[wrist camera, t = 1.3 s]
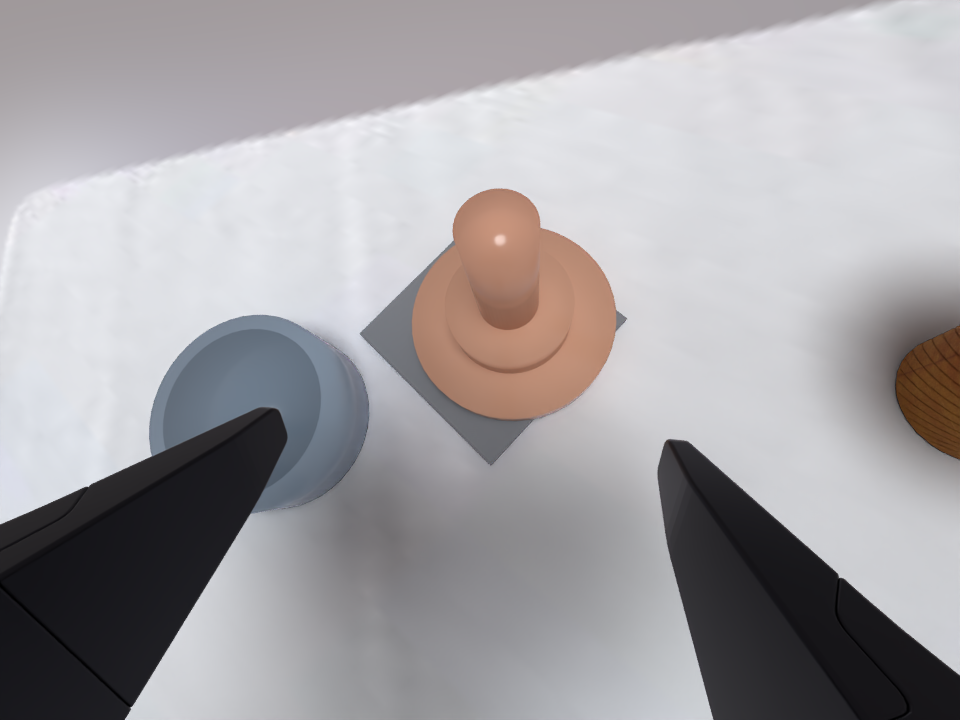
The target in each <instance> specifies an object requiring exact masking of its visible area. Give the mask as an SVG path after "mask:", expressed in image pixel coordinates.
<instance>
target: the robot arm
mask: <svg viewBox="0 0 960 720" xmlns="http://www.w3.org/2000/svg"><path fill="white" fill-rule="evenodd" d="M287 439H288V434H287V430H286V427H285V425H284V422H283V419H282V416H281V413H280V411H279V410H278V409H277V408H273V407H258V408H256V409H254V410H252V411H250V412H247V413H245V414H243V415H241V416H239V417H236V418H234V419H232V420H230V421H228V422H226V423H223V424H221V425H219V426H217V427H215V428H213V429H210V430H208V431H206V432H204V433H202V434H200V435H197V436H195V437H193V438H191V439H189V440H186V441H184V442H182V443H180V444H178V445H176V446H173V447H171V448H169V449H167V450H165V451H163V452H160V453H158V454H156V455H154V456H152V457H150V458H147V459H145V460H143V461H141V462H139V463H136V464H134V465H132V466H130V467H128V468H126V469H123V470H121V471H119V472H117V473H115V474H113V475H110V476H108V477H106V478H104V479H102V480H100V481H97V482H95V483H93V484H91V485H90V486H89V487H84V488H82V489H80V490H78V491H75V492H73V493H71V494H69V495H67V496H65V497H62V498H60V499H58V500H56V501H53V502H51V503H49V504H47V505H44V506H42V507H40V508H38V509H35V510H33V511H31V512H29V513H26V514H24V515H22V516H19V517H17V518H14V519H12V520H10V521H7V522H5V523H3V524H0V720H125V718H126V717H127V715H128V714H129V712H130V710H131V708H130V707H132V706H133V705H134V703H135V702H136V700H137V698H138V697H139V695H140V693H141V692H142V690H143V688H144V687H145V685H146V684H147V682H148V680H149V679H150V677H151V675H152V674H153V672H154V671H155V669H156V667H157V666H158V664H159V662H160V661H161V659H162V657H163V656H164V654H165V653H166V651H167V649H168V648H169V646H170V644H171V643H172V641H173V639H174V638H175V636H176V635H177V633H178V631H179V630H180V628H181V626H182V625H183V623H184V621H185V620H186V618H187V617H188V615H189V613H190V612H191V610H192V608H193V607H194V605H195V603H196V602H197V600H198V599H199V597H200V595H201V594H202V592H203V590H204V589H205V587H206V585H207V584H208V582H209V581H210V579H211V577H212V576H213V574H214V572H215V571H216V569H217V567H218V566H219V564H220V563H221V561H222V559H223V558H224V556H225V554H226V553H227V551H228V549H229V548H230V546H231V545H232V543H233V541H234V540H235V538H236V536H237V535H238V533H239V532H240V530H241V528H242V527H243V525H244V523H245V522H246V520H247V518H248V517H249V515H250V514H251V512H252V510H253V509H254V507H255V505H256V504H257V502H258V500H259V498H260V496H261V495H262V493H263V491H264V489H265V487H266V485H267V483H268V481H269V478H270V476H271V474H272V472H273V470H274V468H275V466H276V464H277V462H278V460H279V458H280V456H281V454H282V452H283V449H284V447H285V445H286V443H287ZM658 484H659V491H660V498H661V505H662V512H663V519H664V526H665V533H666V539H667V545H668V550H669V554H670V558H671V562H672V566H673V569H674V573H675V577H676V581H677V584H678V588H679V592H680V596H681V599H682V603H683V607H684V611H685V614H686V618H687V622H688V626H689V630H690V633H691V637H692V641H693V645H694V648H695V652H696V656H697V660H698V663H699V667H700V671H701V675H702V678H703V682H704V686H705V690H706V694H707V697H708V701H709V705H710V709H711V712H712V716H713V720H960V675H959V674H957V673H956V672H955V671H953V670H952V669H951V668H950V667H948V666H947V665H946V664H945V663H943V662H942V661H941V660H940V659H938V658H937V657H936V656H935V655H933V654H932V653H931V652H930V651H929V650H927V649H926V648H925V647H924V646H922V645H921V644H920V643H919V642H917V641H916V640H915V639H914V638H912V637H911V636H910V635H909V634H907V633H906V632H905V631H904V630H902V629H901V628H900V627H899V626H898V625H897V624H895V623H894V622H893V621H892V620H891V619H890V618H888V617H887V616H886V615H885V614H884V613H883V612H881V611H880V610H879V609H878V608H877V607H876V606H874V605H873V604H872V603H871V602H870V601H869V600H867V599H866V598H865V597H864V596H863V595H862V594H860V593H859V592H858V591H857V590H856V589H855V588H854V587H853V586H851V585H850V584H849V583H848V582H847V581H846V580H845V579H843V578H839V575H838V573H836V572H835V571H834V570H833V569H832V568H831V567H830V566H829V565H827V564H826V563H825V562H824V561H823V560H822V559H821V558H820V557H818V556H817V555H816V554H815V553H814V552H813V551H812V550H810V549H809V548H808V547H807V546H806V545H805V544H804V543H803V542H801V541H800V540H799V539H798V538H797V537H796V536H795V535H793V534H792V533H791V532H790V531H789V530H788V529H787V528H786V527H784V526H783V525H782V524H781V523H780V522H779V521H778V520H777V519H775V518H774V517H773V516H772V515H771V514H770V513H769V512H767V511H766V510H765V509H764V508H763V507H762V506H761V505H760V504H758V503H757V502H756V501H755V500H754V499H753V498H752V497H750V496H749V495H748V494H747V493H746V492H745V491H744V490H743V489H741V488H740V487H739V486H738V485H737V484H736V483H735V482H733V481H732V480H731V479H730V478H729V477H728V476H727V475H726V474H724V473H723V472H722V471H721V470H720V469H719V468H718V467H717V466H715V465H714V464H713V463H712V462H711V461H710V460H709V459H707V458H706V457H705V456H704V455H703V454H702V453H701V452H700V451H698V450H697V449H696V448H695V447H694V446H693V445H692V444H690V443H689V442H688V441H684V440H673V439H669V440H667V441H666V442H665V443H664V446H663V450H662V454H661V458H660V462H659V465H658Z"/></svg>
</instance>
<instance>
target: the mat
mask: <svg viewBox="0 0 960 720" xmlns="http://www.w3.org/2000/svg"><path fill="white" fill-rule="evenodd" d="M454 245H456V244H455V241H453V242H452V243H451V244H450V245H449V246H448V247H447V248H446V249H445V250H444V251H443V252H442V253H441V254H440V255H439V256H438V257H437V258H436V259H435V260H434V261H433V262H432V263H431V264H430V265H429V266H428V267H427V268H426V269H425V270H424V271H423V272H422V273H421V274H420V275H418V276H417V277H416V278H415V279H414V280H413V281H412V282H411V283H410V284H409V285H408V286H407V287H406V288H405V289H404V290H403V291H402V292H401V293H400V294H399V295H398V296H397V297H396V298H395V299H394V300H393V301H392V302H391V303H390V304H389V305H388V306H387V307H386V308H385V309H384V310H383V311H382V312H381V313H380V314H379V315H378V316H377V317H376V318H375V319H374V320H373V321H372V322H371V323H370V324H369V325H368V326H367V327H366V328H365V329H364V330H363V331H362V332H361V333H360V335H361V336H362V337H363V338H364V339H365V340H366V341H367V342H368V343H369V344H370V345H371V346H372V347H373V348H374V349H375V350H376V351H377V352H378V353H379V354H380V355H381V356H382V357H383V358H384V359H385V360H386V361H387V362H388V363H389V364H390V365H391V366H392V367H393V368H394V369H395V370H396V371H397V372H398V373H399V374H400V375H401V376H402V377H403V378H404V379H405V380H406V381H407V382H408V383H409V384H410V385H411V386H412V387H413V388H414V389H415V390H416V391H417V392H418V393H419V394H420V395H421V396H422V397H423V398H424V399H425V400H426V401H427V402H428V403H429V404H430V405H431V406H432V407H433V408H434V409H435V410H436V411H437V412H438V413H439V414H440V415H441V416H442V417H443V418H444V419H445V420H446V421H447V422H448V423H449V424H450V425H451V426H452V427H453V428H454V429H455V430H456V431H457V432H458V433H459V434H460V435H461V436H462V437H463V438H464V439H465V440H466V441H467V442H468V443H469V444H470V445H471V446H472V447H473V448H474V449H475V450H476V451H477V452H478V453H479V454H480V455H481V456H482V457H483V458H484V459H485V460H486V461H487V462H488V463H489V464H490V465H492V464H493V463H494V462H495V460H496V459H497V458H498V457H499V456H500V455H501V454H502V453H503V452H504V451H505V450H506V449H507V448H508V446H509V445H510V444H511V443H512V442H513V441H514V440H515V439H516V438H517V437H518V436H519V435H520V434H521V432H522V431H523V430H524V429H525V428H526V427H527V426H528V425H529V424H530V423H531V422H532V421H533V420H534V419H531V420H523V421H501V420H495V419H490V418H486V417H483V416H480V415H477V414H475V413H472V412H470V411H468V410H466V409H464V408H463V407H461V406H460V405H458V404H456V403H455V402H454V401H452V400H451V399H450V398H449V397H448V396H446V395H445V394H444V393H443V392H442V391H441V390H439V389H438V387H437V386H436V385H435V384H434V383H433V382H432V381H431V379H430V378H429V376H428V375H427V373H426V372H425V370H424V369H423V367H422V365H421V363H420V361H419V358H418V356H417V353H416V349H415V346H414V341H413V335H412V315H413V308H414V303H415V299H416V296H417V293H418V291H419V288H420V286H421V284H422V282H423V280H424V278H425V276H426V275H427V273H428V272H429V270H430V269H431V267H432V266H433V265H434V264H435V263H436V261H437V260H438V259H439V258H440V257H441V256H442V255H443V254H444V253H446V252H447V251H448V250H449V249H450V248H451V247H453V246H454ZM626 319H627V318H626V317H624V316H623V315H622V314H621V313H619V312H618V311H617V310H616V330H617V329H618V328H619V327H620V326H621V325H622V324H623V323H624V322H625V321H626ZM616 330H615V332H616Z"/></svg>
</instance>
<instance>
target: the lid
mask: <svg viewBox="0 0 960 720" xmlns="http://www.w3.org/2000/svg"><path fill="white" fill-rule="evenodd" d="M453 238H454V241H455V244H456V245H454V246H453V247H451V248H450V249H449V250H448V251H447V252H446V253H444V254H443V255H442V256H441V257H440V258H439V259H438V260H437V261H436V263H435V264H434V265H433V266H432V267H431V269H430V270H429V272H428V273H427V275H426V276H425V278H424V280H423V282H422V284H421V286H420V288H419V291H418V293H417V296H416V299H415V303H414V308H413V315H412V335H413V341H414V346H415V349H416V353H417V356H418V358H419V361H420V363H421V365H422V367H423V369H424V370H425V372H426V373H427V375H428V376H429V378H430V379H431V381H432V382H433V383H434V384H435V385H436V386H437V387H438V389H439V390H441V391H442V392H443V393H444V394H445V395H446V396H448V397H449V398H450V399H451V400H452V401H454V402H455V403H456V404H458V405H460V406H461V407H463V408H464V409H466V410H468V411H470V412H472V413H475V414H477V415H480V416H483V417H486V418H490V419H495V420H501V421H523V420H531V419H535V418H540V417H543V416H546V415H549V414H551V413H554V412H556V411H558V410H560V409H562V408H564V407H566V406H567V405H569V404H570V403H571V402H573V401H574V400H576V399H577V398H578V397H579V396H580V395H581V394H582V393H583V392H585V391H586V390H587V389H588V387H589V386H590V385H591V384H592V382H593V381H594V380H595V378H596V377H597V375H598V374H599V372H600V371H601V369H602V367H603V366H604V364H605V362H606V360H607V358H608V356H609V353H610V351H611V349H612V345H613V341H614V337H615V330H616V307H615V301H614V296H613V293H612V290H611V287H610V284H609V282H608V280H607V278H606V276H605V274H604V273H603V271H602V270H601V268H600V267H599V265H598V264H597V262H596V261H595V260H594V259H593V258H592V257H591V256H590V255H589V254H588V253H587V252H586V251H585V250H584V249H582V248H581V247H580V246H579V245H577V244H576V243H574V242H573V241H571V240H570V239H568V238H566V237H564V236H562V235H560V234H558V233H555V232H552V231H549V230H546V229H542V228H540V217H539V214H538V211H537V209H536V207H535V206H534V204H533V203H532V202H531V201H530V200H529V199H528V198H527V197H525V196H524V195H522V194H521V193H518V192H516V191H513V190H509V189H490V190H486V191H483V192H480V193H478V194H476V195H474V196H473V197H471V198H470V199H469V200H467V201H466V202H465V203H464V204H463V205H462V206H461V208H460V209H459V211H458V212H457V214H456V217H455V219H454V223H453Z"/></svg>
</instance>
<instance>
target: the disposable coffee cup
mask: <svg viewBox="0 0 960 720" xmlns="http://www.w3.org/2000/svg"><path fill="white" fill-rule="evenodd" d="M896 393H897V398H898V401H899V404H900V408H901V410H902V411H903V413H904V415H905V417H906V419H907V421H908V422H909V423H910V424H911V426H912V427H913V428H914V429H915V431H916V432H917V433H918V434H919V435H921V436H922V437H923V438H924V439H925V440H926V441H927V442H929V443H930V444H931V445H933V446H934V447H936V448H937V449H939V450H940V451H942V452H944V453H946V454H948V455H951V456H953V457H955V458H957V459H960V325H959V326H957V327H956V328H953V329H951V330H949V331H947V332H945V333H944V334H941V335H939V336H937V337H935V338H933V339H930V340H928V341H926V342H924V343H922V344H919V345H918V346H916V347H915V348H914V349H913V350H912V351H911V352H909V353H908V354H907V355H906V357H905V358H904V359H903V361H902V362H901V365H900V367H899V369H898V372H897V380H896Z"/></svg>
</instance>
